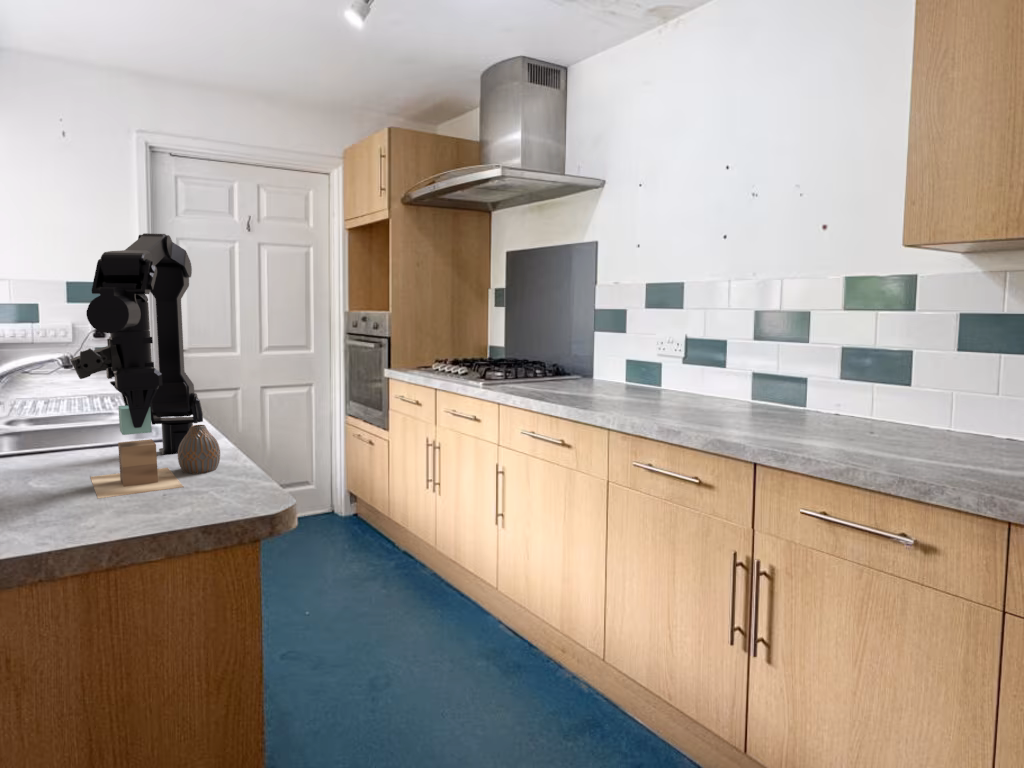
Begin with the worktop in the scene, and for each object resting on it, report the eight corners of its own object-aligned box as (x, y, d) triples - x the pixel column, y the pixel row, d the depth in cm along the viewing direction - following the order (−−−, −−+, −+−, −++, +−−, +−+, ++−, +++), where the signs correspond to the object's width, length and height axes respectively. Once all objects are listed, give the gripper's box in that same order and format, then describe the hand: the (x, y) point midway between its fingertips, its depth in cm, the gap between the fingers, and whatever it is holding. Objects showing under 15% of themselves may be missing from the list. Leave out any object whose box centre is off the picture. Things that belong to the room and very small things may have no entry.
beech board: (90, 481, 120) (90, 476, 120) (168, 471, 127) (167, 467, 127) (98, 503, 107) (97, 498, 107) (184, 491, 114) (183, 486, 113)
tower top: (119, 461, 117) (118, 442, 117) (152, 457, 120) (151, 439, 120) (122, 467, 113) (121, 447, 113) (157, 463, 116) (155, 444, 116)
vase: (170, 476, 124) (167, 427, 123) (203, 468, 130) (201, 421, 129) (196, 480, 121) (194, 430, 120) (229, 472, 127) (227, 424, 126)
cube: (119, 431, 116) (118, 405, 116) (148, 428, 119) (146, 403, 118) (122, 435, 113) (121, 409, 113) (151, 432, 115) (150, 407, 115)
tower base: (120, 480, 118) (119, 461, 117) (153, 476, 120) (152, 457, 120) (123, 486, 113) (122, 467, 113) (158, 482, 116) (157, 463, 116)
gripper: (68, 329, 117) (75, 422, 119) (75, 334, 102) (82, 440, 104) (143, 328, 123) (148, 416, 125) (160, 332, 108) (165, 432, 110)
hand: (135, 425), depth 116 cm, fingers closed on cube, 4 cm apart
